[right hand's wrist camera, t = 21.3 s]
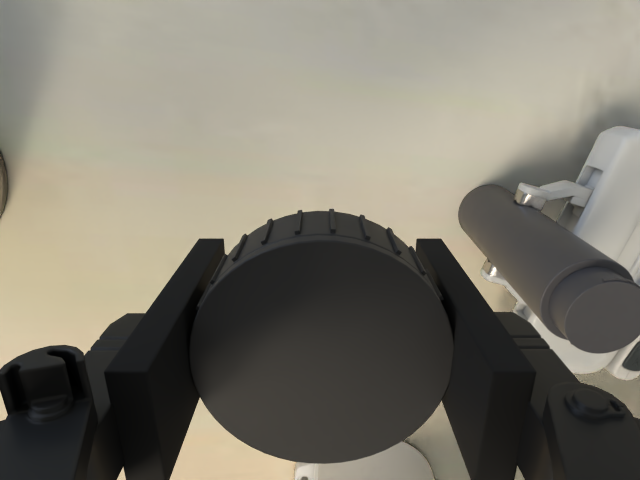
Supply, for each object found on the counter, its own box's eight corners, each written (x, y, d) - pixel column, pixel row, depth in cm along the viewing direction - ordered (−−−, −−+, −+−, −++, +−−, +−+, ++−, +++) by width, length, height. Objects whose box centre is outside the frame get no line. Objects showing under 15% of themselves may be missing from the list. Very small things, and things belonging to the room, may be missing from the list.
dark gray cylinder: (514, 235, 42) (652, 356, 24) (458, 241, 42) (552, 365, 24) (516, 181, 40) (666, 268, 22) (457, 188, 41) (558, 278, 23)
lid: (163, 264, 12) (131, 303, 10) (386, 166, 11) (401, 188, 9) (270, 433, 14) (261, 495, 12) (465, 363, 13) (492, 418, 11)
